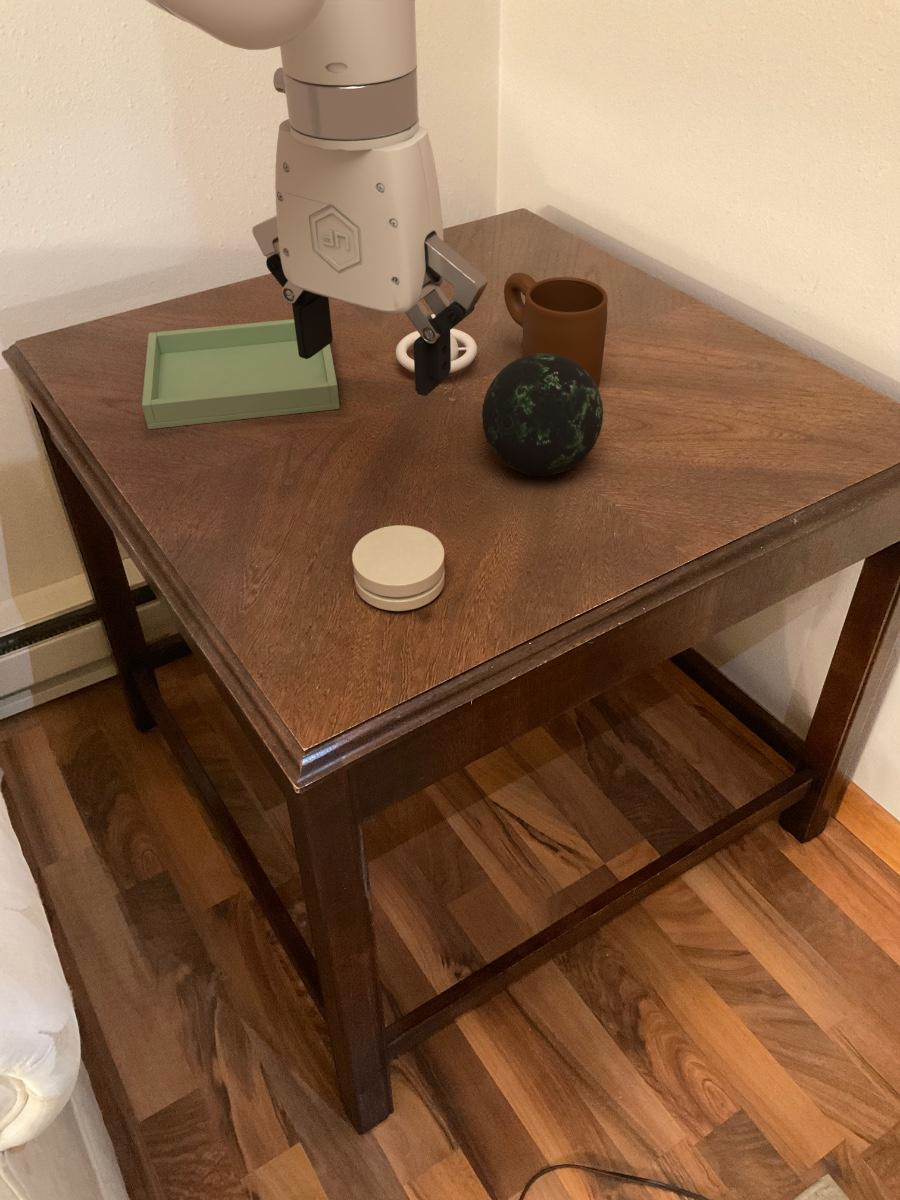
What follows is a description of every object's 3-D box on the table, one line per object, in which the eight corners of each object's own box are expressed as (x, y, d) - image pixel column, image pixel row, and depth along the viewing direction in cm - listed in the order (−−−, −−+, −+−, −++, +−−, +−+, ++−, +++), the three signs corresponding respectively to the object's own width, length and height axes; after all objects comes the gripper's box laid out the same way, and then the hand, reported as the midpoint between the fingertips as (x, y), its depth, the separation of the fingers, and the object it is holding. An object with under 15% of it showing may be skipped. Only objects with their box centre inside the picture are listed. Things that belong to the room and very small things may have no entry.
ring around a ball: (493, 371, 97) (449, 338, 102) (492, 318, 93) (447, 286, 98) (424, 398, 94) (382, 362, 99) (420, 344, 90) (377, 310, 95)
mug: (475, 365, 98) (476, 274, 91) (533, 341, 101) (538, 252, 95) (557, 417, 91) (563, 323, 84) (616, 389, 94) (627, 297, 88)
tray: (148, 429, 90) (141, 405, 89) (154, 356, 100) (148, 332, 98) (339, 409, 92) (337, 384, 91) (327, 339, 102) (324, 315, 100)
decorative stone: (537, 419, 91) (543, 319, 84) (621, 465, 85) (634, 362, 78) (457, 463, 86) (456, 360, 79) (541, 515, 80) (547, 409, 74)
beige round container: (360, 621, 72) (357, 590, 70) (350, 560, 77) (347, 530, 75) (452, 608, 73) (451, 578, 70) (437, 550, 77) (436, 520, 75)
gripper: (194, 97, 58) (240, 360, 69) (448, 148, 51) (452, 428, 63) (274, 64, 62) (305, 316, 74) (517, 106, 56) (508, 375, 67)
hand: (372, 367), depth 68 cm, fingers open, 9 cm apart
